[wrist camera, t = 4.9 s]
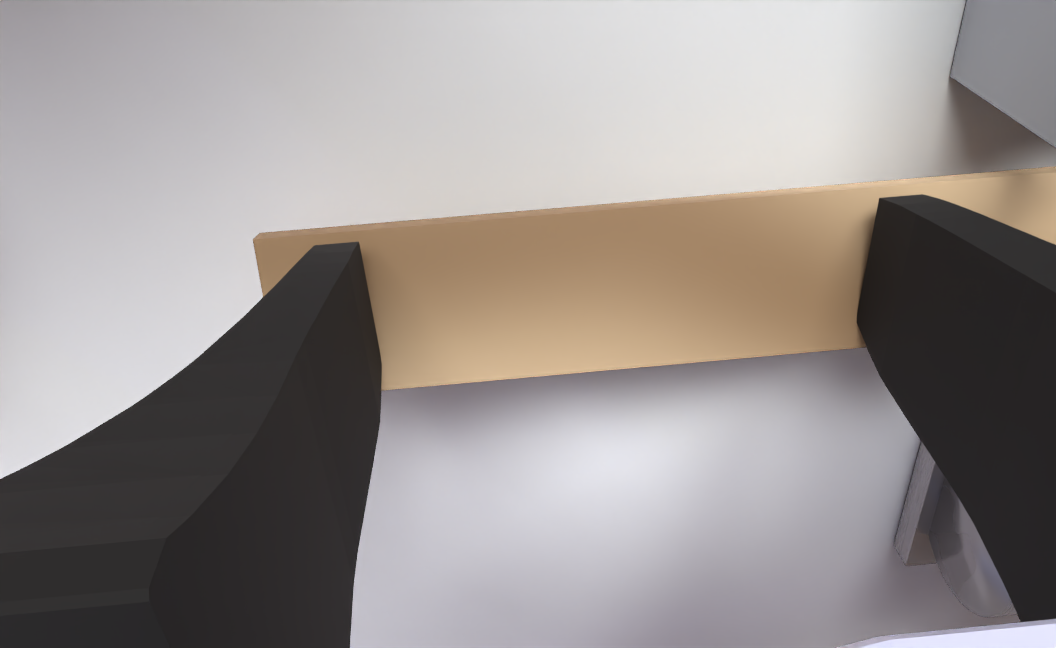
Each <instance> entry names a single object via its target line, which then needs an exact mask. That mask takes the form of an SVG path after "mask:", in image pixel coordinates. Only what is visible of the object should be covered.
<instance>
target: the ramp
mask: <svg viewBox="0 0 1056 648" xmlns="http://www.w3.org/2000/svg"><path fill="white" fill-rule="evenodd" d="M920 194H924V195H928V196H932V197H935V198H939V199H942V200H945V201H948V202H951V203H954V204H956V205H959V206H962V207H964V208H967V209H969V210H972V211H975V212H977V213H980V214H982V215H985V216H987V217H989V218H992V219H994V220H997V221H999V222H1002V223H1004V224H1006V225H1009V226H1011V227H1014V228H1016V229H1019V230H1021V231H1023V232H1026V233H1028V234H1031V235H1033V236H1035V237H1038V238H1040V239H1043V240H1045V241H1048V242H1050V243H1053V244H1055V245H1056V166H1055V167H1043V168H1031V169H1019V170H1007V171H995V172H983V173H971V174H959V175H947V176H936V177H924V178H912V179H900V180H888V181H876V182H864V183H852V184H840V185H828V186H816V187H804V188H792V189H780V190H768V191H756V192H744V193H732V194H720V195H708V196H696V197H685V198H673V199H661V200H649V201H637V202H625V203H613V204H601V205H589V206H577V207H565V208H553V209H541V210H529V211H517V212H505V213H493V214H481V215H469V216H457V217H445V218H433V219H422V220H410V221H398V222H386V223H374V224H362V225H350V226H338V227H326V228H314V229H302V230H290V231H278V232H266V233H259V234H258V235H257V236H256V237H255V238H254V239H253V243H254V248H255V254H256V259H257V265H258V270H259V276H260V281H261V287H262V292H263V297H264V296H265V295H266V294H267V293H268V292H269V291H270V290H271V289H272V288H273V287H274V286H275V285H276V284H277V283H278V282H279V281H280V280H281V279H282V278H283V277H284V276H285V275H286V274H287V272H288V271H289V270H290V269H291V268H292V267H293V266H294V265H295V264H296V263H297V262H298V261H299V260H300V259H301V258H302V257H303V256H304V255H305V254H306V253H307V252H308V251H309V250H310V249H311V248H312V247H313V246H314V245H324V244H336V243H348V242H359V244H360V249H361V254H362V260H363V265H364V270H365V275H366V281H367V286H368V291H369V296H370V302H371V307H372V312H373V317H374V323H375V328H376V333H377V339H378V344H379V349H380V355H381V362H382V380H381V391H382V390H393V389H404V388H415V387H427V386H438V385H449V384H460V383H471V382H483V381H494V380H505V379H516V378H527V377H539V376H550V375H561V374H572V373H583V372H595V371H606V370H617V369H628V368H639V367H651V366H662V365H673V364H684V363H695V362H707V361H718V360H729V359H740V358H751V357H763V356H774V355H785V354H796V353H808V352H819V351H830V350H841V349H852V348H864V347H866V344H865V342H864V339H863V337H862V334H861V332H860V330H859V327H858V325H857V311H858V305H859V300H860V295H861V290H862V285H863V279H864V274H865V269H866V264H867V259H868V254H869V248H870V243H871V238H872V233H873V228H874V222H875V217H876V212H877V207H878V202H879V198H884V197H896V196H908V195H920Z"/></svg>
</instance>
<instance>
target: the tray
mask: <svg viewBox="0 0 1056 648" xmlns="http://www.w3.org/2000/svg"><path fill="white" fill-rule="evenodd" d="M950 77H952V78H953V79H955V80H956V81H958V82H959V83H961V84H962V85H964V86H965V87H967V88H968V89H969V90H971V91H972V92H974V93H975V94H977V95H978V96H980V97H981V98H983V99H984V100H986V101H987V102H989V103H990V104H992V105H993V106H995V107H996V108H998V109H999V110H1000V111H1002V112H1003V113H1005V114H1006V115H1008V116H1009V117H1011V118H1012V119H1014V120H1015V121H1017V122H1018V123H1020V124H1021V125H1023V126H1024V127H1026V128H1027V129H1028V130H1030V131H1031V132H1033V133H1034V134H1036V135H1037V136H1039V137H1040V138H1042V139H1043V140H1045V141H1046V142H1048V143H1049V144H1051V145H1052V146H1054V147H1055V148H1056V0H967V2H966V7H965V11H964V16H963V20H962V24H961V29H960V33H959V38H958V42H957V47H956V51H955V56H954V60H953V65H952V69H951V74H950Z"/></svg>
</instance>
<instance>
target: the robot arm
mask: <svg viewBox="0 0 1056 648" xmlns="http://www.w3.org/2000/svg"><path fill="white" fill-rule="evenodd" d="M857 325H858V327H859V330H860V332H861V334H862V337H863V339H864V342H865V344H866V347H867V349H868V351H869V354H870V356H871V358H872V360H873V362H874V364H875V366H876V369H877V371H878V373H879V375H880V377H881V379H882V380H883V382H884V383H885V385H886V387H887V388H888V390H889V392H890V393H891V395H892V396H893V398H894V399H895V401H896V403H897V404H898V406H899V407H900V409H901V410H902V412H903V414H904V415H905V417H906V418H907V420H908V421H909V423H910V424H911V426H912V427H913V429H914V431H915V432H916V434H917V435H918V437H919V438H920V440H921V441H922V443H923V444H924V446H925V447H926V449H927V450H928V452H929V453H930V455H931V456H932V458H933V460H934V461H935V463H936V464H937V466H938V467H939V469H940V470H941V472H942V473H943V475H944V476H945V478H946V479H947V481H948V482H949V484H950V486H951V487H952V489H953V490H954V492H955V493H956V495H957V496H958V498H959V500H960V501H961V503H962V505H963V506H964V508H965V510H966V512H967V513H968V515H969V517H970V518H971V520H972V522H973V524H974V525H975V527H976V529H977V531H978V533H979V535H980V537H981V539H982V541H983V543H984V546H985V548H986V550H987V552H988V554H989V556H990V558H991V560H992V562H993V564H994V566H995V568H996V570H997V572H998V574H999V576H1000V578H1001V580H1002V582H1003V584H1004V586H1005V588H1006V590H1007V592H1008V595H1009V597H1010V599H1011V601H1012V603H1013V606H1014V608H1015V610H1016V612H1017V614H1018V617H1019V619H1020V621H1021V622H1019V623H1009V624H998V625H988V626H978V627H968V628H958V629H948V630H937V631H927V632H917V633H907V634H897V635H887V636H879V637H875V638H871V639H867V640H863V641H859V642H855V643H851V644H847V645H843V646H839V647H835V648H1056V245H1055V244H1053V243H1050V242H1048V241H1045V240H1043V239H1040V238H1038V237H1035V236H1033V235H1031V234H1028V233H1026V232H1023V231H1021V230H1019V229H1016V228H1014V227H1011V226H1009V225H1006V224H1004V223H1002V222H999V221H997V220H994V219H992V218H989V217H987V216H985V215H982V214H980V213H977V212H975V211H972V210H969V209H967V208H964V207H962V206H959V205H956V204H954V203H951V202H948V201H945V200H942V199H939V198H935V197H932V196H928V195H924V194H920V195H908V196H896V197H884V198H879V202H878V207H877V212H876V217H875V222H874V228H873V233H872V238H871V243H870V248H869V254H868V259H867V264H866V269H865V274H864V279H863V285H862V290H861V295H860V300H859V305H858V311H857ZM381 380H382V362H381V355H380V349H379V344H378V339H377V333H376V328H375V323H374V317H373V312H372V307H371V302H370V296H369V291H368V286H367V281H366V275H365V270H364V265H363V260H362V254H361V249H360V244H359V242H348V243H336V244H324V245H314V246H313V247H312V248H311V249H310V250H309V251H308V252H307V253H306V254H305V255H304V256H303V257H302V258H301V259H300V260H299V261H298V262H297V263H296V264H295V265H294V266H293V267H292V268H291V269H290V270H289V271H288V272H287V274H286V275H285V276H284V277H283V278H282V279H281V280H280V281H279V282H278V283H277V284H276V285H275V286H274V287H273V288H272V289H271V290H270V291H269V292H268V293H267V294H266V295H265V296H264V297H263V298H262V299H261V300H260V301H259V302H258V303H257V304H256V305H255V306H254V307H253V308H252V309H251V310H250V311H249V312H248V313H247V314H246V315H245V316H244V317H243V318H242V319H241V320H240V321H239V322H237V323H236V324H235V325H234V326H233V327H232V328H231V329H230V330H228V331H227V332H226V333H225V334H224V335H223V336H222V337H221V338H219V339H218V340H217V341H216V342H215V343H214V344H213V345H212V346H211V347H209V348H208V349H207V350H206V351H205V352H204V353H203V354H202V355H200V356H199V357H198V358H197V359H196V360H194V361H193V362H192V363H191V364H189V365H188V366H187V367H186V368H184V369H183V370H182V371H180V372H179V373H178V374H176V375H175V376H174V377H173V378H171V379H170V380H168V381H167V382H166V383H164V384H163V385H161V386H160V387H159V388H157V389H156V390H154V391H153V392H152V393H150V394H149V395H147V396H146V397H145V398H143V399H142V400H140V401H139V402H137V403H136V404H134V405H133V406H131V407H130V408H128V409H126V410H125V411H123V412H121V413H120V414H118V415H116V416H115V417H113V418H112V419H110V420H108V421H107V422H105V423H103V424H102V425H100V426H98V427H97V428H95V429H93V430H92V431H90V432H88V433H87V434H85V435H83V436H82V437H80V438H78V439H77V440H75V441H73V442H72V443H70V444H68V445H66V446H65V447H63V448H61V449H59V450H57V451H55V452H53V453H51V454H50V455H48V456H46V457H44V458H42V459H40V460H38V461H36V462H34V463H32V464H30V465H29V466H27V467H24V468H22V469H20V470H18V471H16V472H14V473H12V474H10V475H8V476H6V477H4V478H2V479H0V648H350V633H351V617H352V601H353V585H354V576H355V568H356V560H357V552H358V546H359V541H360V535H361V529H362V523H363V518H364V512H365V506H366V501H367V495H368V489H369V484H370V478H371V472H372V467H373V461H374V455H375V449H376V443H377V437H378V431H379V424H380V410H381Z"/></svg>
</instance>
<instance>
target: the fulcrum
mask: <svg viewBox="0 0 1056 648" xmlns="http://www.w3.org/2000/svg"><path fill="white" fill-rule="evenodd" d="M894 546H895V548H896V550H897V552H898V553H899V555H900V557H901V559H902V561H903V562H904V564H905V566H912V565H923V564H933V563H937V564H938V567H939V569H940V571H941V573H942V575H943V577H944V579H945V581H946V583H947V585H948V586H949V588H950V589H951V591H952V592H953V594H954V595H955V596H956V598H957V599H958V600H959V601H960V602H961V603H962V604H963V605H964V606H965V607H966V608H967V609H968V610H970V611H971V612H973V613H974V614H976V615H979V616H982V617H994V616H1004V615H1014V614H1017V612H1016V610H1015V608H1014V606H1013V603H1012V601H1011V599H1010V597H1009V595H1008V592H1007V590H1006V588H1005V586H1004V584H1003V582H1002V580H1001V578H1000V576H999V574H998V572H997V570H996V568H995V566H994V564H993V562H992V560H991V558H990V556H989V554H988V552H987V550H986V548H985V546H984V543H983V541H982V539H981V537H980V535H979V533H978V531H977V529H976V527H975V525H974V524H973V522H972V520H971V518H970V517H969V515H968V513H967V512H966V510H965V508H964V506H963V505H962V503H961V501H960V500H959V498H958V496H957V495H956V493H955V492H954V490H953V489H952V487H951V486H950V484H949V482H948V481H947V479H946V478H945V476H944V475H943V473H942V472H941V470H940V469H939V467H938V466H937V464H936V463H935V461H934V460H933V458H932V456H931V455H930V453H929V452H928V450H927V449H926V447H925V446H924V444H923V443H922V441H921V445H920V449H919V452H918V456H917V460H916V464H915V467H914V471H913V475H912V479H911V482H910V486H909V490H908V493H907V497H906V501H905V505H904V508H903V512H902V516H901V520H900V523H899V527H898V531H897V534H896V538H895V542H894Z"/></svg>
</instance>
